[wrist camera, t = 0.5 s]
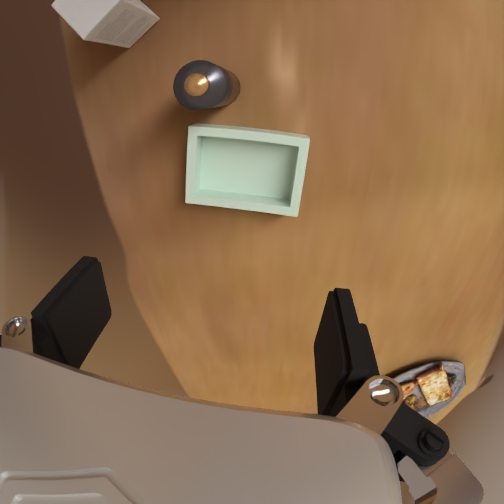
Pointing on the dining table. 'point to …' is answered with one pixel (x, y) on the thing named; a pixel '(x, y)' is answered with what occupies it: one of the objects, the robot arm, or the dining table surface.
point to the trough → (245, 168)
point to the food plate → (432, 385)
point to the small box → (107, 19)
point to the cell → (205, 86)
